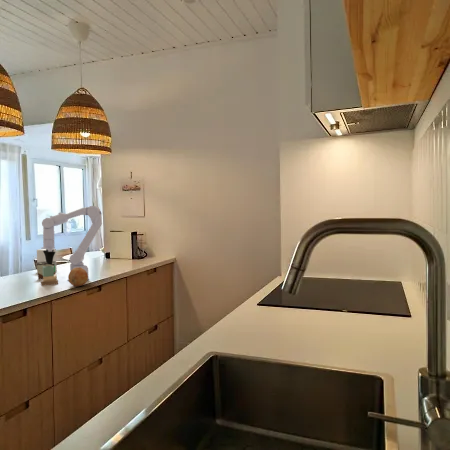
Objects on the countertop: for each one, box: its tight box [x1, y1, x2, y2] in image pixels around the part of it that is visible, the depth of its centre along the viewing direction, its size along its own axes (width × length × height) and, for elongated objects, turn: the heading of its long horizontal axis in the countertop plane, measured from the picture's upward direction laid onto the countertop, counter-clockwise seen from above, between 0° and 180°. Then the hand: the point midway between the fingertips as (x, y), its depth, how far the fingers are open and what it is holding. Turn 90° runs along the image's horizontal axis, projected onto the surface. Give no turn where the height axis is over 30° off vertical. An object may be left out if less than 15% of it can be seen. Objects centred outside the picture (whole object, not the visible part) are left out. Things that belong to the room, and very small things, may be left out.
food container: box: [35, 261, 58, 280], centre depth 232 cm, size 12×6×10 cm, turn 84°
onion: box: [67, 267, 89, 287], centre depth 205 cm, size 10×10×10 cm
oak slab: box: [42, 273, 58, 282], centre depth 215 cm, size 6×6×2 cm
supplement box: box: [36, 248, 58, 272], centre depth 261 cm, size 9×9×15 cm
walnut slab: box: [40, 279, 59, 286], centre depth 215 cm, size 8×8×2 cm
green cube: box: [42, 266, 54, 277], centre depth 214 cm, size 5×5×5 cm
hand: (49, 263), depth 221 cm, fingers open, 7 cm apart
